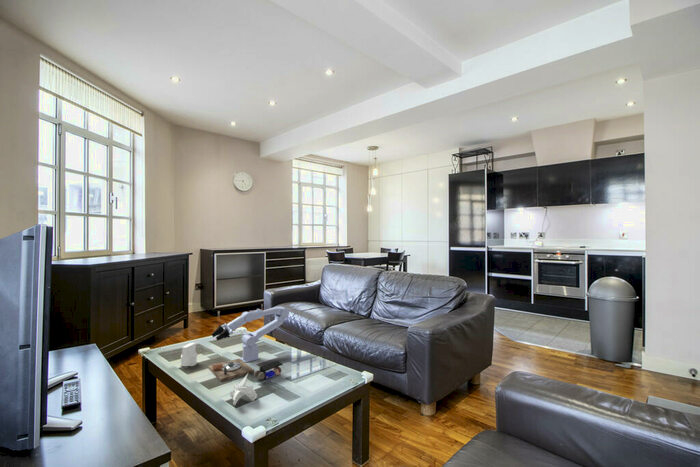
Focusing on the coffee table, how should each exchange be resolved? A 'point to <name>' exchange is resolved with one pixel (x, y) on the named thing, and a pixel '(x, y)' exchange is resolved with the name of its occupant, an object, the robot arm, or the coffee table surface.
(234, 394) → the figurine
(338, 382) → the coffee table surface
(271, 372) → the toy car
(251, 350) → the robot arm
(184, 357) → the cylinder with rectangular tab
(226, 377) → the base board
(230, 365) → the flange plate
